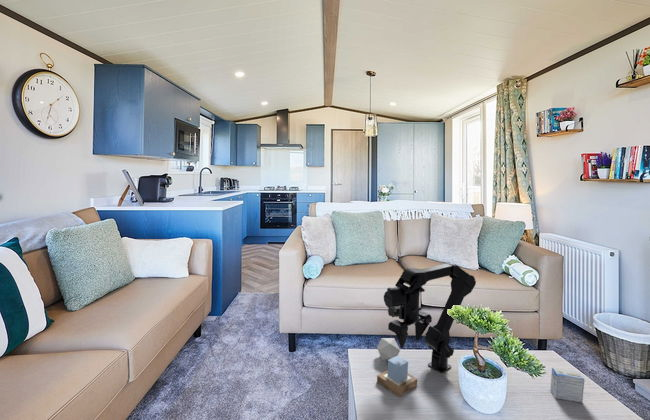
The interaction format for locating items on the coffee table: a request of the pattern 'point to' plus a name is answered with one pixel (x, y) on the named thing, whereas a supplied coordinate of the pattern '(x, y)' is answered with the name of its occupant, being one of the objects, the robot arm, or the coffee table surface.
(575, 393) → the medicine box
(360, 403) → the coffee table surface
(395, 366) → the block
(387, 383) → the picture frame
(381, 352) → the die
